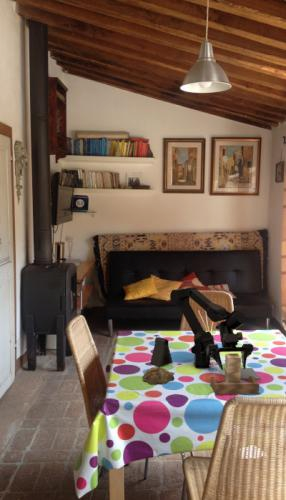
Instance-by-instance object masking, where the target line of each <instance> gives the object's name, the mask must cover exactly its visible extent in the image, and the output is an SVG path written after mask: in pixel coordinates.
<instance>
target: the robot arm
mask: <svg viewBox="0 0 286 500" xmlns="http://www.w3.org/2000/svg"><path fill="white" fill-rule="evenodd" d="M169 297H170V300H171V301H172V303H173V304H174V305H175V306H177V307H178V308H179V309H180V311H181V313H182V315H183V316H184V318H185V320H186V322H187V324H188V326H189V329H191V331H192V334H193V343H194V345H193V346H192V347H191V348H190V352H191V354H193V355H194V356H193V360H194V361H193V365H194V367H195V368H196V369H203V368H204V369H205V368H207V369H209V368H211V366H210V365H211V359H212V360H213V361H214V362H216V364H217V366H218V367H219V368H220V370H221V371H223V362H222V358H221V354H220V353H236V352H237V353H238V352H240V354H241V355H240V357H241V365H242V368H244V369H245V368H247V366H246V365H247V358H248V357H249V356H251V355H252V354H253V352H254V350H255V348H254V345H253V344H252V343H242V345H241V346H238V344H239V342H240V341H243V340H244V336H243V332H242V331H241V332H240V331H239V332H236V333H235V332H234V330H235V331H236V330H238V329H239V328H241V326H243V325H245V324H246V323H247V317H246V315H245V314H243V313H242V312H241V311H239V309H234V310H232V311H231V312H230V311H228V310H227V309H226V308H225V307H224V306H221V305H220V304H217V303H214V302H213V301H212V300H210V299H209V298H208V297H206V296H205V294H203V293H202V292H201V291H200V290H198V289H197V287H195V286H188V287H186V288H184V287H183V288H177V289H172V290H171V291H170V295H169ZM190 299H191V300H192V301H193V302H194V303H196V305H198V306H199V307H200V308H201V309H203V311H205V313H206V316H207V318H209V320H210V321H211V322H213V323H217V324H216V326H215V329H216V330H218V331H219V336H220V343H221V347H220V346H219V345H218V344H217V343H215V338H214V336H213V335H212V332H210V331H206V330H204V328H203V326H202V325H201V323H200V320H199V319H198V317H197V315H196V313H195V311H194V309H193V307H192V305H191V304H190V303H191V302H190Z"/></svg>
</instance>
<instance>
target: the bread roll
mask: <svg viewBox="0 0 286 500" xmlns="http://www.w3.org/2000/svg"><path fill="white" fill-rule="evenodd" d="M174 379H175V375H174V374H173V373H172V372H171V371H169V370H167V369H165V368H163V367H157V366H154V367H150V368H149V369H147V370H146V371H145V372H144V374H143V375H142V381H143V382H147V383H148V384H149V385H152V386H158V385H165V384H168V383H170V382H173V381H174Z"/></svg>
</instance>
